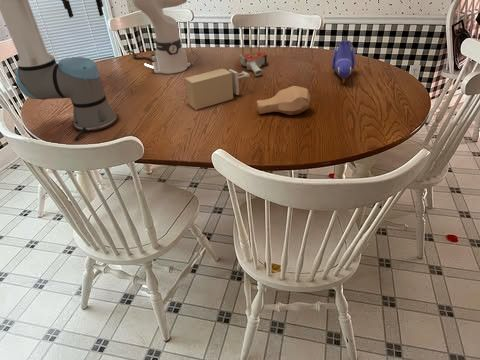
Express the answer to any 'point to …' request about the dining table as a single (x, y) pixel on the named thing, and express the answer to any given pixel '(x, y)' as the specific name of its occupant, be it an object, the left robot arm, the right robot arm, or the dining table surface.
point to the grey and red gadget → (254, 62)
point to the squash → (286, 101)
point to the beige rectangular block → (209, 88)
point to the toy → (343, 59)
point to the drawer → (235, 80)
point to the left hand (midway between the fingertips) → (86, 16)
